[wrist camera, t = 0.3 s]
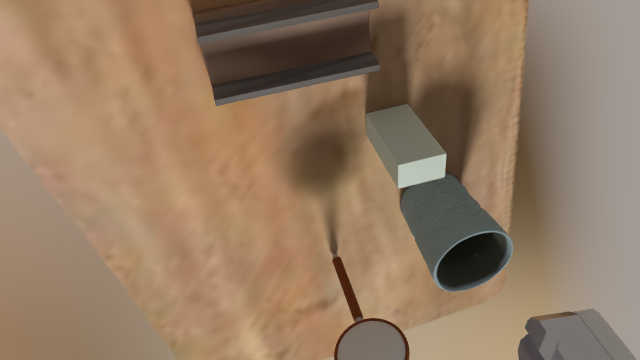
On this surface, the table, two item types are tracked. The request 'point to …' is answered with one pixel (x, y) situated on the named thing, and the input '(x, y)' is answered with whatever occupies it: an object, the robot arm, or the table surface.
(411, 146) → the pale green eraser block
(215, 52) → the track
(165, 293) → the table surface
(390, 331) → the magnifying glass
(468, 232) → the blue-grey cylindrical cup
